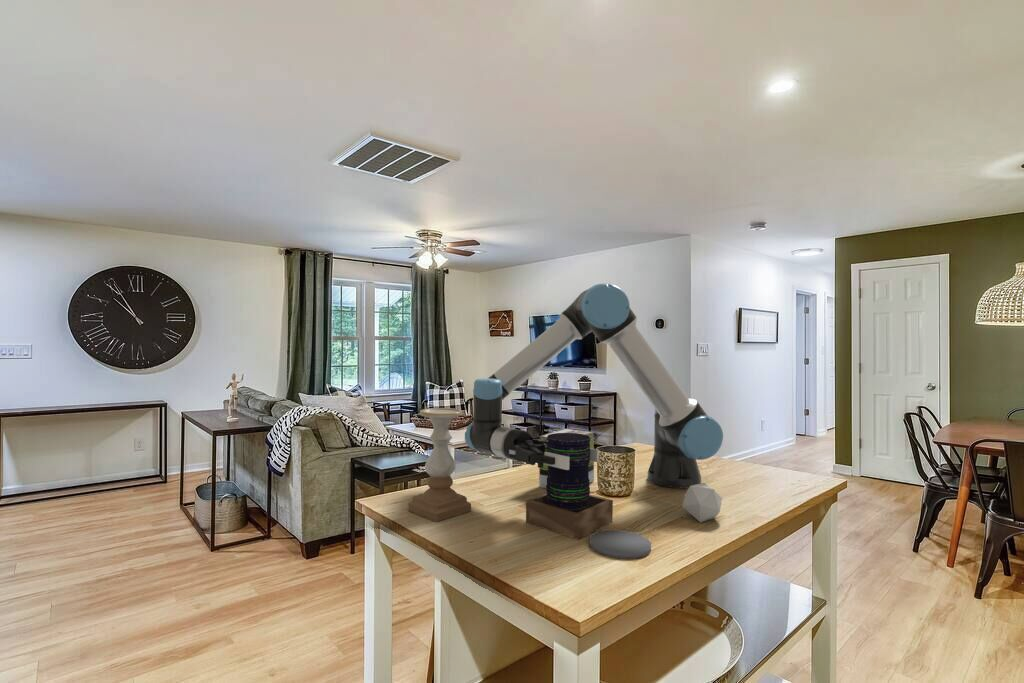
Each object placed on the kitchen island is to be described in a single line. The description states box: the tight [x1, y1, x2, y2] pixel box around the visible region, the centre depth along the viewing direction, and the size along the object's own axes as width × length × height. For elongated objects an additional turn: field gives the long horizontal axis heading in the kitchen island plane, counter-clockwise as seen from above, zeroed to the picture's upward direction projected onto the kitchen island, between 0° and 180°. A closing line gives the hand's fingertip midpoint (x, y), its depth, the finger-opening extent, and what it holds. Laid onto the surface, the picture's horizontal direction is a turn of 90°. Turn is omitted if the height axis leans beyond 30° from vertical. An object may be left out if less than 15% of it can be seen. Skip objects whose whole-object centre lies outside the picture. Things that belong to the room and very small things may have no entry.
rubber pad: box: [589, 529, 652, 560], centre depth 103 cm, size 12×12×1 cm
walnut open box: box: [525, 492, 614, 540], centre depth 116 cm, size 14×14×5 cm
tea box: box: [538, 428, 595, 489], centre depth 147 cm, size 15×10×15 cm
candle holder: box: [407, 407, 472, 523], centre depth 122 cm, size 11×11×24 cm
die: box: [682, 482, 723, 523], centre depth 121 cm, size 8×9×10 cm
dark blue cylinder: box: [545, 433, 591, 510], centre depth 116 cm, size 10×10×15 cm
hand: (583, 459), depth 113 cm, fingers closed on dark blue cylinder, 10 cm apart
